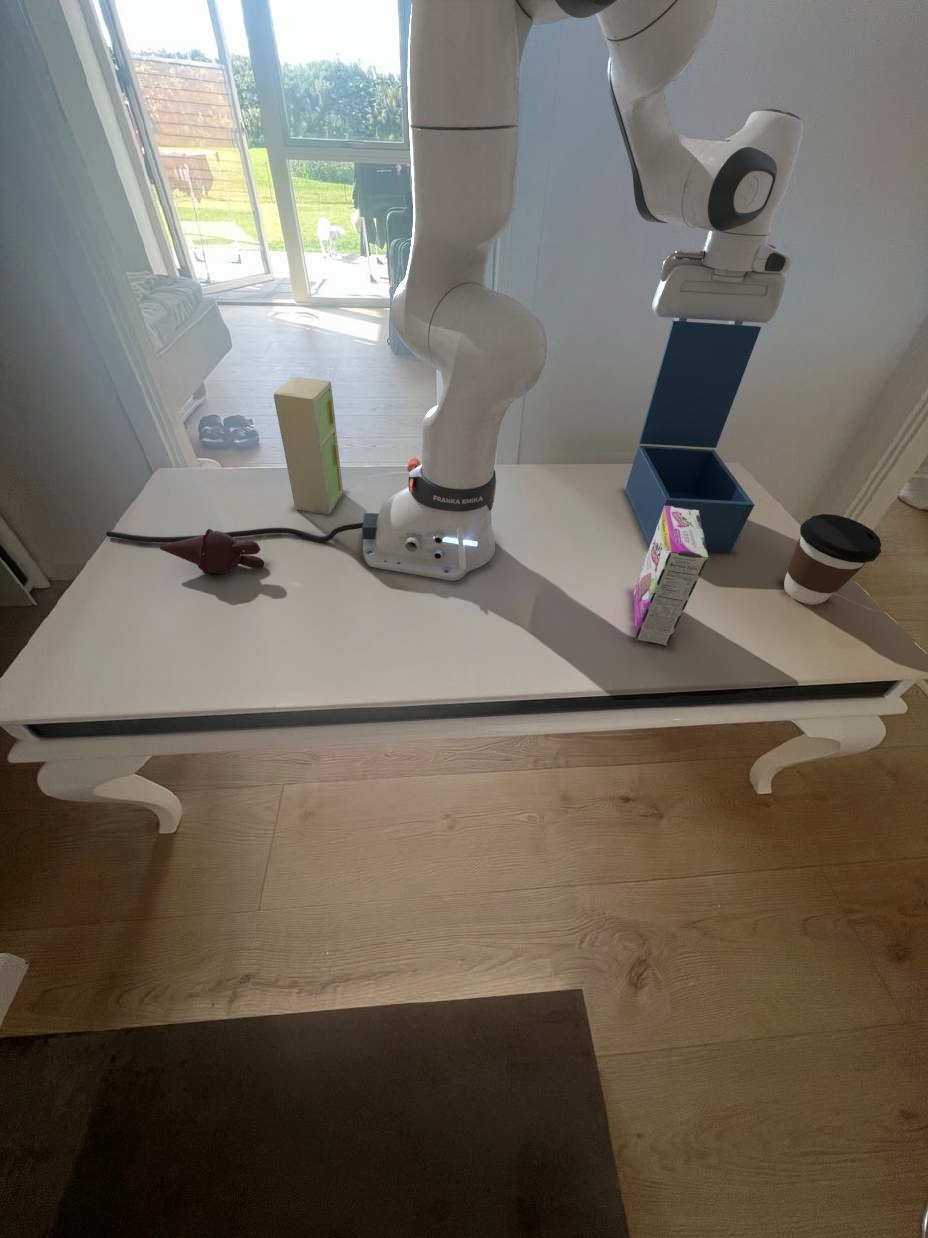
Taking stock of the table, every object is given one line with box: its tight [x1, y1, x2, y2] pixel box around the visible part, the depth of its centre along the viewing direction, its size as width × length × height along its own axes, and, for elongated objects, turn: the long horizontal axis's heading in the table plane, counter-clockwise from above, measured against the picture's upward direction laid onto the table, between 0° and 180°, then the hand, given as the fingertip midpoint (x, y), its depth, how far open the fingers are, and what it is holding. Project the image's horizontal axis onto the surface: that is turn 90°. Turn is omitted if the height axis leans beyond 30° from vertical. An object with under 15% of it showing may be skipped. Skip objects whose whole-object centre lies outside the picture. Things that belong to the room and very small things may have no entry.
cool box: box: [624, 445, 755, 554], centre depth 96 cm, size 20×15×10 cm
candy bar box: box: [632, 506, 709, 647], centre depth 74 cm, size 11×5×16 cm, turn 168°
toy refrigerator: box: [273, 375, 344, 515], centre depth 90 cm, size 8×7×21 cm
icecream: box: [159, 528, 265, 576], centre depth 80 cm, size 7×7×15 cm
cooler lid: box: [638, 320, 762, 449], centre depth 95 cm, size 21×15×5 cm
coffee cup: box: [783, 513, 882, 606], centre depth 82 cm, size 11×11×12 cm
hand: (700, 346), depth 92 cm, fingers closed on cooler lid, 6 cm apart
